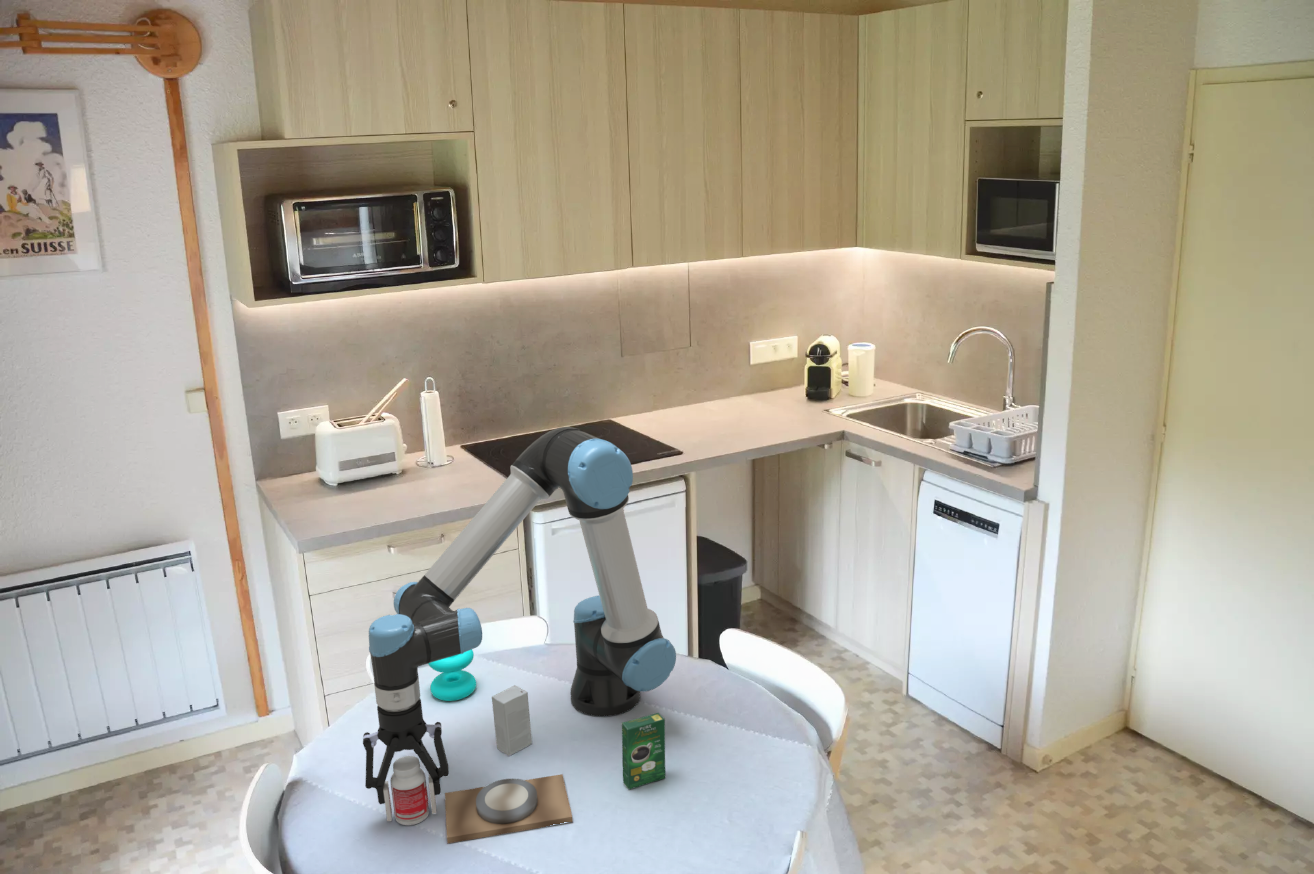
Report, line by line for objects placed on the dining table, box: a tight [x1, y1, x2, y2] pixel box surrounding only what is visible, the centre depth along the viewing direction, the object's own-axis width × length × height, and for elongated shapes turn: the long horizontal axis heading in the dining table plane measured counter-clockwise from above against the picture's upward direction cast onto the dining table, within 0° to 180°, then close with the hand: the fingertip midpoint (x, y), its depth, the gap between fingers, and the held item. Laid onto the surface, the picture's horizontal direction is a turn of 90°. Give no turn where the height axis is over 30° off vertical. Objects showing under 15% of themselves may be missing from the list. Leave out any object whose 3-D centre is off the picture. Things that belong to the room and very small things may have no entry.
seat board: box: [444, 773, 574, 844], centre depth 188 cm, size 22×13×3 cm, turn 103°
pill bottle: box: [390, 755, 430, 826], centre depth 186 cm, size 6×6×11 cm
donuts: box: [427, 649, 477, 702], centre depth 227 cm, size 10×10×10 cm
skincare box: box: [491, 684, 533, 757], centre depth 206 cm, size 6×4×12 cm
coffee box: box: [621, 712, 666, 790], centre depth 194 cm, size 8×3×13 cm, turn 116°
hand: (411, 812), depth 187 cm, fingers open, 7 cm apart
